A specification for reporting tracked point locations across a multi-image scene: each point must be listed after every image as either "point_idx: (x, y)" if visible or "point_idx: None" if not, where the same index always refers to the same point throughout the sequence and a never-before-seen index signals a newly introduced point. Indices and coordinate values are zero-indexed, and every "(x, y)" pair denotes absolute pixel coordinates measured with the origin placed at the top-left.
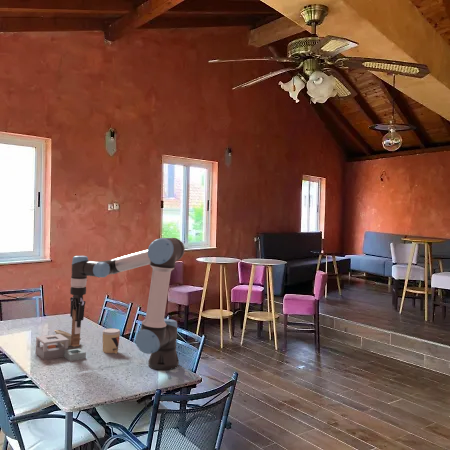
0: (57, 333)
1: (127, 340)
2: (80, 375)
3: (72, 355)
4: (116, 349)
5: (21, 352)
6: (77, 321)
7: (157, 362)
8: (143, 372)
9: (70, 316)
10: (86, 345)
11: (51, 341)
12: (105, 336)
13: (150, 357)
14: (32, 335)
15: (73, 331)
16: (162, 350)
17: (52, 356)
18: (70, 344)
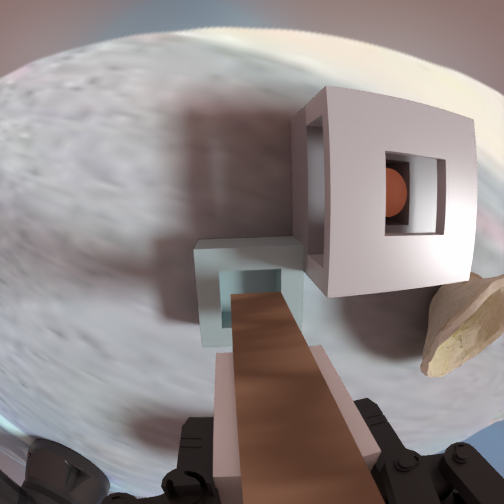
0: (494, 279)
1: None
2: (23, 225)
3: (195, 262)
4: None
5: (458, 109)
6: (200, 483)
7: (31, 454)
8: (19, 407)
9: (458, 443)
10: (405, 381)
11: (336, 146)
12: None
13: (55, 466)
14: None
15: (253, 358)
16: (22, 484)
17: (296, 167)
18: (428, 322)
